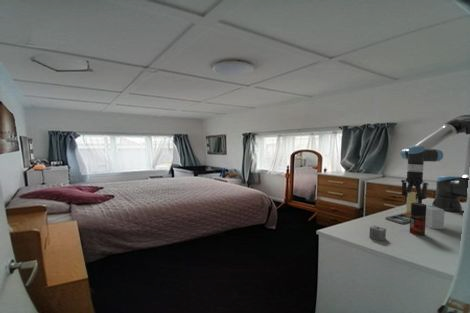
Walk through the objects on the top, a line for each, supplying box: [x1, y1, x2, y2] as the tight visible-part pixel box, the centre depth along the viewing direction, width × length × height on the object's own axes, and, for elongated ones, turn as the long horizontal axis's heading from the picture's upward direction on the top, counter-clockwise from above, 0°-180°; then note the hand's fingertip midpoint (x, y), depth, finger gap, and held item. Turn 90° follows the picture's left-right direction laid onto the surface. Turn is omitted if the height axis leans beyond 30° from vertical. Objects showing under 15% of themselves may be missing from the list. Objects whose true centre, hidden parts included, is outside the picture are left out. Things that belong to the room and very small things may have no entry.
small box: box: [425, 205, 445, 230], centre depth 121 cm, size 8×6×10 cm
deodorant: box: [409, 202, 428, 237], centre depth 111 cm, size 6×6×15 cm
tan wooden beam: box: [405, 191, 418, 216], centre depth 136 cm, size 4×4×14 cm
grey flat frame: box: [385, 211, 410, 225], centre depth 133 cm, size 24×9×2 cm, turn 115°
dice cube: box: [369, 225, 387, 242], centre depth 105 cm, size 5×5×5 cm
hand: (412, 208), depth 136 cm, fingers closed on tan wooden beam, 4 cm apart
